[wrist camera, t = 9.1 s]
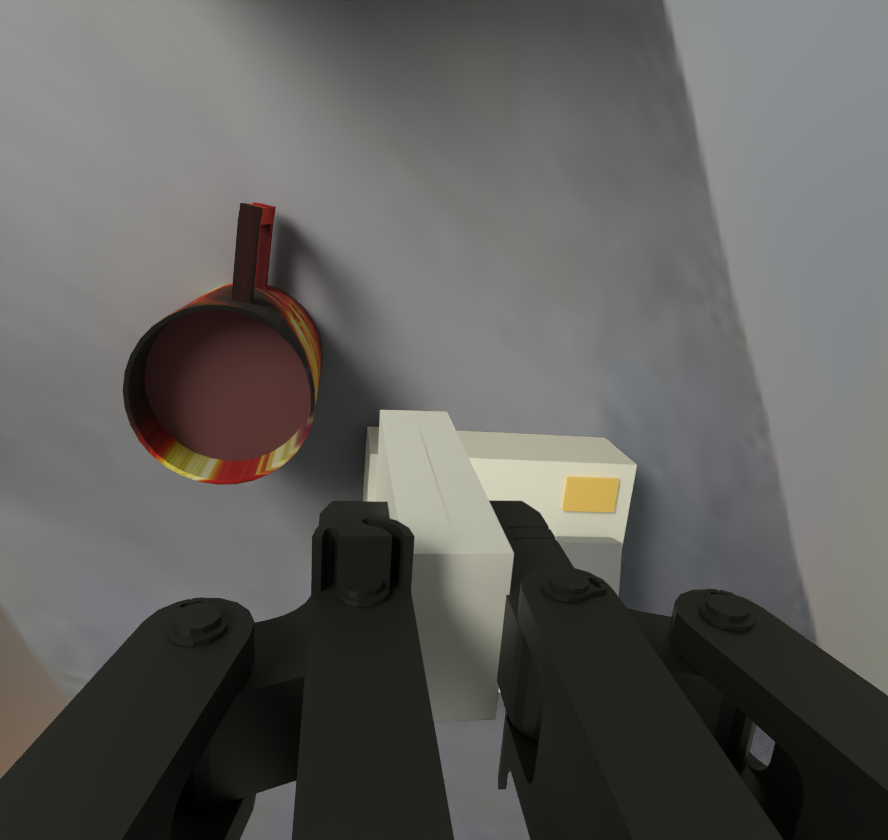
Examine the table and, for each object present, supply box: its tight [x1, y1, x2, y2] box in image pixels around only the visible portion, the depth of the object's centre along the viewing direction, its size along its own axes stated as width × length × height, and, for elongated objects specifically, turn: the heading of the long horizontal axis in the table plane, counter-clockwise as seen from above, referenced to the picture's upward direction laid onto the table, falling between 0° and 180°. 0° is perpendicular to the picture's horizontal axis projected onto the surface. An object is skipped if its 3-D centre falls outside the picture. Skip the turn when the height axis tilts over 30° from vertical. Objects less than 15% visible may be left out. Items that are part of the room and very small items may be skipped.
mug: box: [123, 202, 322, 485], centre depth 41 cm, size 10×14×12 cm
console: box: [363, 426, 637, 692], centre depth 50 cm, size 18×18×7 cm
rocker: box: [556, 536, 622, 597], centre depth 47 cm, size 8×4×2 cm, turn 175°
